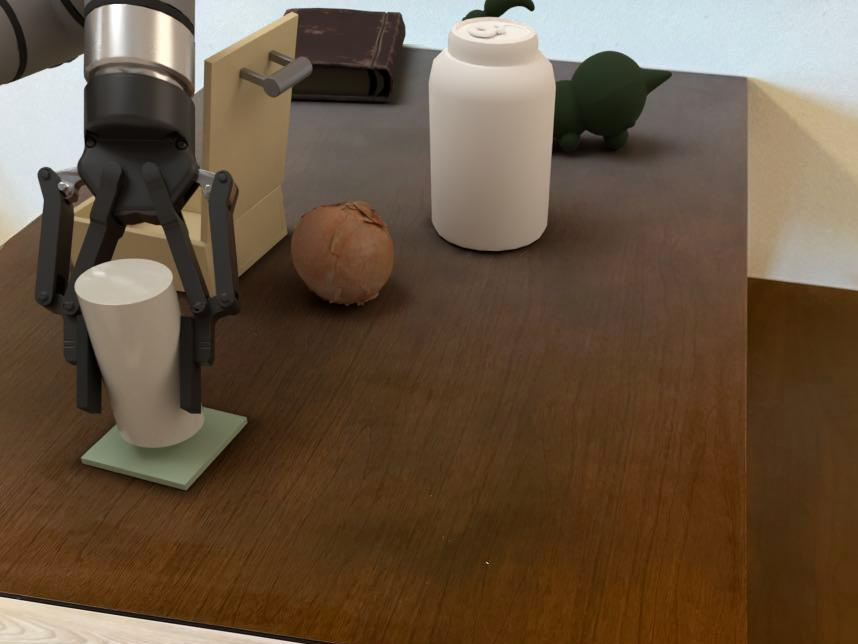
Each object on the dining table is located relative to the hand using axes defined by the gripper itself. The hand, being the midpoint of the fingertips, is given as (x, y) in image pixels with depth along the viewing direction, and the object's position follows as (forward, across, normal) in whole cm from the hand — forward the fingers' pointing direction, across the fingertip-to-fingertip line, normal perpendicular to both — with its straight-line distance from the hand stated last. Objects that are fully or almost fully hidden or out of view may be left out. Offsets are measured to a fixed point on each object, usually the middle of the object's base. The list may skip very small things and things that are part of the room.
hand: (140, 410), depth 69 cm
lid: (-28, -4, -17) cm, 33 cm away
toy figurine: (-41, -36, -50) cm, 74 cm away
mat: (+2, 0, -6) cm, 7 cm away
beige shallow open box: (-21, +5, -29) cm, 36 cm away
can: (-25, -26, -34) cm, 50 cm away
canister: (0, 0, -5) cm, 5 cm away
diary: (-60, -6, -68) cm, 91 cm away
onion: (-15, -12, -23) cm, 30 cm away
